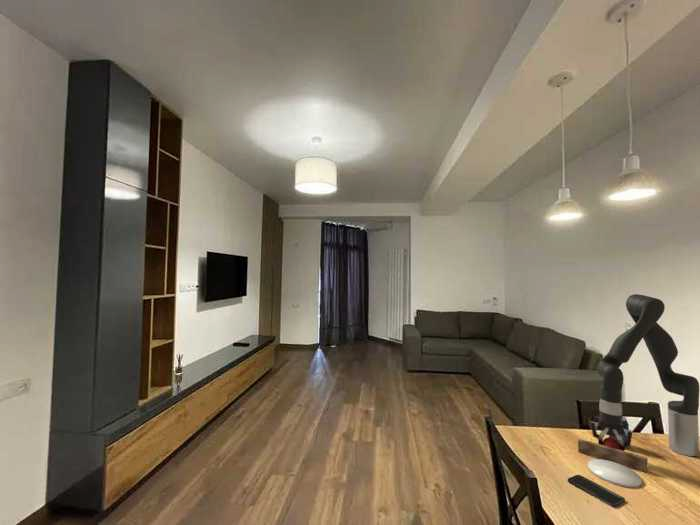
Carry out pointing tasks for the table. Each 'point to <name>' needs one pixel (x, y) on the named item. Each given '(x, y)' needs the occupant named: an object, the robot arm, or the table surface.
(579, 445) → the wooden plank
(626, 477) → the plate
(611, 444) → the onion
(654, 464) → the table surface
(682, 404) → the robot arm
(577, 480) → the phone
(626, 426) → the soda can
